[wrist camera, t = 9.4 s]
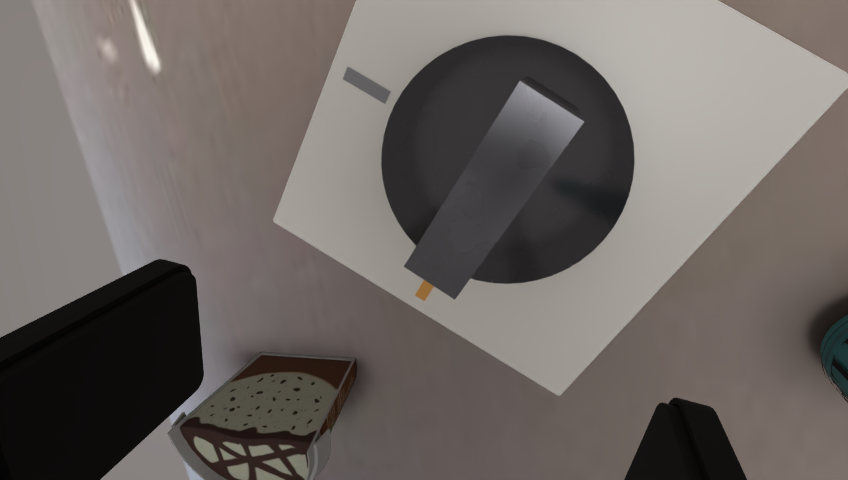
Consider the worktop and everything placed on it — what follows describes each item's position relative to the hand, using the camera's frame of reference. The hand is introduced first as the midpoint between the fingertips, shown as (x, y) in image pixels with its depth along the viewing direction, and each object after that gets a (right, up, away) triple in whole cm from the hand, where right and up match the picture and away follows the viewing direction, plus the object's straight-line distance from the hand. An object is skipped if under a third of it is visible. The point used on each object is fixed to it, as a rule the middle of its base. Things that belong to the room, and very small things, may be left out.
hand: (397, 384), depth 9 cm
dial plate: (+6, +8, +20) cm, 22 cm away
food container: (-9, -10, +32) cm, 34 cm away
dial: (+5, +7, +18) cm, 20 cm away
